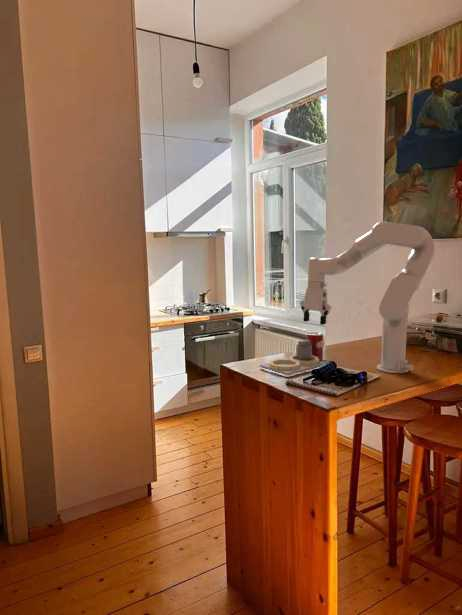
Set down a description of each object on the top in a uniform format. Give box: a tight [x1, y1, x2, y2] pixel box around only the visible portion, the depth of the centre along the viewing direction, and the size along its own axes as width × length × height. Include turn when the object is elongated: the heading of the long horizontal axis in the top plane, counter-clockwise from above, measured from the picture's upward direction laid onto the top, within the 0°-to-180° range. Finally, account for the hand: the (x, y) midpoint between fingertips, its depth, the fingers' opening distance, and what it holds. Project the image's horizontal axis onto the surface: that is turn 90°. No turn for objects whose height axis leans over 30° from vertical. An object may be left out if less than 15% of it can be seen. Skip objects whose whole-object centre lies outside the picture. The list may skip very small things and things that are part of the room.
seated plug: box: [295, 339, 312, 361], centre depth 198 cm, size 7×7×9 cm
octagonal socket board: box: [259, 354, 329, 375], centre depth 195 cm, size 16×25×4 cm, turn 129°
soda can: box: [306, 332, 324, 361], centre depth 208 cm, size 7×7×12 cm
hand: (314, 322), depth 207 cm, fingers open, 9 cm apart
